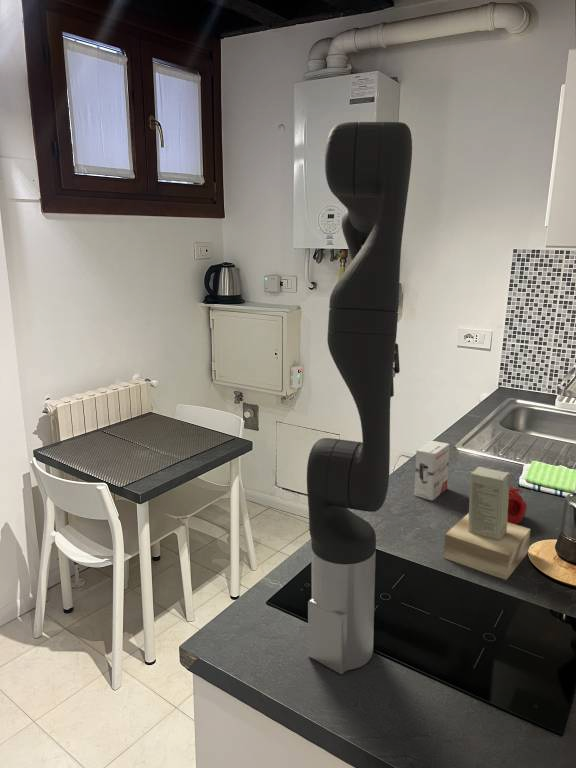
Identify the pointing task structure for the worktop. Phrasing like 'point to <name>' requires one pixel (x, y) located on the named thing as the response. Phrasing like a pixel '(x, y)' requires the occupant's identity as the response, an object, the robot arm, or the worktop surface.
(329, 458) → the robot arm
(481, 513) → the skincare box
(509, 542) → the birch block
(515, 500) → the pomegranate
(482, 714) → the worktop surface
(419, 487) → the ink box
